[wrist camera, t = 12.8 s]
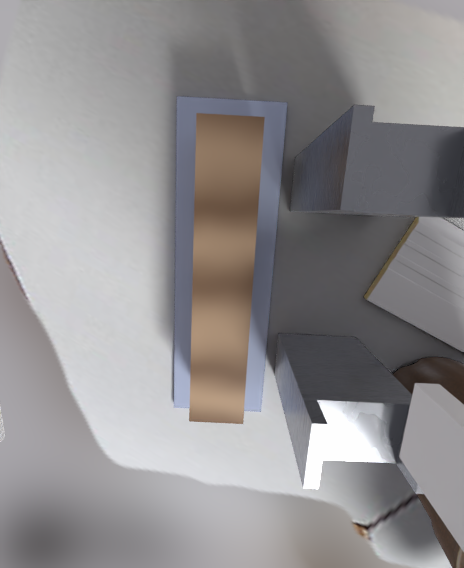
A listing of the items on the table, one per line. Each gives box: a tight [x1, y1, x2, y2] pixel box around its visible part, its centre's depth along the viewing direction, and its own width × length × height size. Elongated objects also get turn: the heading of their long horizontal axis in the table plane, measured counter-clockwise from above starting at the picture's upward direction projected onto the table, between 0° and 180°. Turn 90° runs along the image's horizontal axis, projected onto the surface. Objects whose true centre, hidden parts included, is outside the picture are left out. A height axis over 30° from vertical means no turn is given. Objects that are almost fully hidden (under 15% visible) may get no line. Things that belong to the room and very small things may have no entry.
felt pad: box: [174, 96, 288, 412], centre depth 31 cm, size 32×10×1 cm, turn 177°
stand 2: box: [275, 333, 424, 494], centre depth 26 cm, size 5×8×14 cm, turn 87°
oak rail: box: [189, 113, 265, 424], centre depth 28 cm, size 26×5×6 cm, turn 177°
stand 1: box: [290, 105, 464, 218], centre depth 22 cm, size 5×8×14 cm, turn 87°
